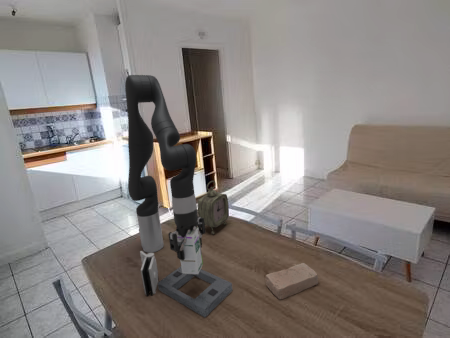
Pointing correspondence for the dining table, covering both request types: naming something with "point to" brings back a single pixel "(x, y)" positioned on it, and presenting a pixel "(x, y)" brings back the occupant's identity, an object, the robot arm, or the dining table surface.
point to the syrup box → (191, 253)
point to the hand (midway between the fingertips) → (190, 253)
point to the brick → (291, 280)
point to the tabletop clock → (213, 208)
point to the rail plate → (205, 299)
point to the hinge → (149, 273)
